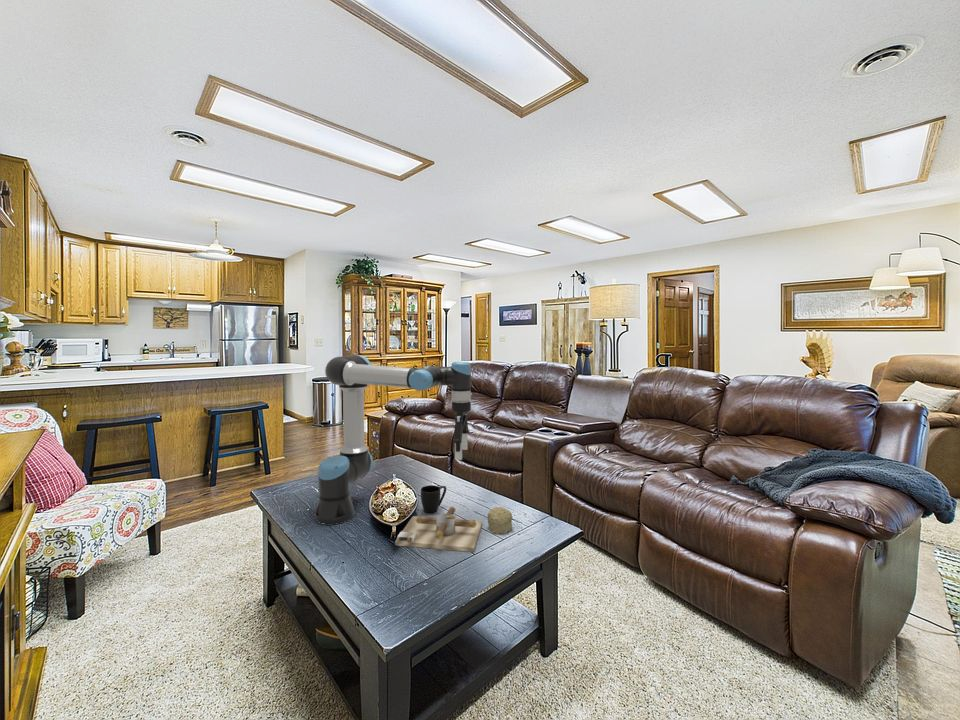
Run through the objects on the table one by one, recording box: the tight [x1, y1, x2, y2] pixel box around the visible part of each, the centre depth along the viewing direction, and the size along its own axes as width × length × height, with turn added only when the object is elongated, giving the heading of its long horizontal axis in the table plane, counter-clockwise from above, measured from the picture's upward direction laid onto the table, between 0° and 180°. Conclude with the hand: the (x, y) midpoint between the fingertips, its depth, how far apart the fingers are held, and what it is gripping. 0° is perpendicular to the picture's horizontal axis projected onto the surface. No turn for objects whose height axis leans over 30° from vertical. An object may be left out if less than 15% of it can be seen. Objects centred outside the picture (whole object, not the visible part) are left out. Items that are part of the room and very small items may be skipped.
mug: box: [420, 484, 447, 515], centre depth 173 cm, size 8×12×10 cm
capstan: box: [416, 506, 477, 539], centre depth 151 cm, size 23×23×6 cm
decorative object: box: [487, 506, 513, 535], centre depth 157 cm, size 9×10×10 cm
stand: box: [394, 515, 483, 553], centre depth 152 cm, size 28×20×3 cm
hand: (461, 454), depth 163 cm, fingers open, 13 cm apart
